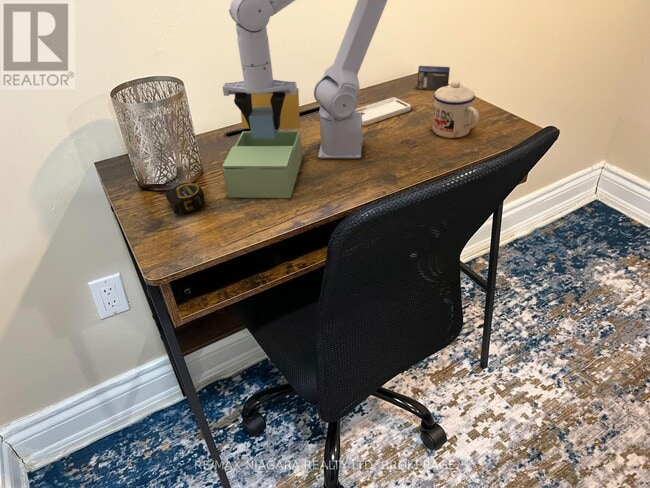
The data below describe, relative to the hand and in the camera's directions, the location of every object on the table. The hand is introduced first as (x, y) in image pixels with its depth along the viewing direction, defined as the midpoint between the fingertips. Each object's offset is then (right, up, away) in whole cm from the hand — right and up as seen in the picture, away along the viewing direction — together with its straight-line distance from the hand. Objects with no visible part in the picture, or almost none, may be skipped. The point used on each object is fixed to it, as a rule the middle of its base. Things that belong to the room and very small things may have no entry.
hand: (265, 127), depth 107 cm
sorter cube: (0, -1, +1) cm, 1 cm away
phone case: (+26, +9, +25) cm, 37 cm away
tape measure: (-15, -17, -5) cm, 24 cm away
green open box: (0, -10, +3) cm, 10 cm away
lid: (0, +5, +4) cm, 6 cm away
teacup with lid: (+43, +2, +14) cm, 45 cm away
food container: (-22, -10, +5) cm, 24 cm away
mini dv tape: (+42, +19, +36) cm, 58 cm away
